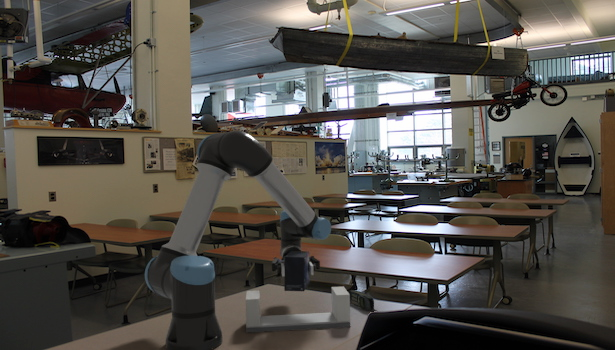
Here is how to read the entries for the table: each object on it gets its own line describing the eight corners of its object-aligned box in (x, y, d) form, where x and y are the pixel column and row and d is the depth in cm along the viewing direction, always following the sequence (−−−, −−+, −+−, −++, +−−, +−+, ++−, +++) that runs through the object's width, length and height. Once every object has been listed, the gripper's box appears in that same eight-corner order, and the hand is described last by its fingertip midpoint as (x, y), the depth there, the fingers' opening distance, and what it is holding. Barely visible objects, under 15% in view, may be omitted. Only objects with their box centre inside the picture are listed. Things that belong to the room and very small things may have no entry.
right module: (337, 321, 134) (336, 295, 134) (332, 311, 144) (331, 287, 144) (350, 321, 134) (349, 294, 134) (344, 311, 144) (343, 286, 144)
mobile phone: (347, 289, 160) (371, 298, 147) (354, 288, 162) (378, 297, 148) (347, 303, 160) (371, 313, 147) (355, 302, 162) (379, 312, 148)
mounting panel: (246, 332, 131) (246, 326, 131) (247, 321, 141) (247, 316, 141) (350, 326, 134) (350, 321, 134) (344, 316, 144) (344, 311, 144)
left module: (246, 326, 131) (245, 299, 131) (247, 316, 141) (246, 291, 141) (260, 326, 132) (259, 298, 132) (260, 315, 142) (259, 290, 142)
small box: (305, 292, 132) (304, 256, 132) (283, 291, 133) (282, 256, 133) (310, 283, 143) (310, 250, 143) (290, 283, 144) (289, 250, 144)
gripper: (322, 266, 157) (332, 282, 134) (263, 269, 155) (263, 285, 132) (322, 245, 157) (331, 257, 134) (262, 247, 155) (262, 260, 132)
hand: (297, 271), depth 133 cm, fingers closed on small box, 8 cm apart
